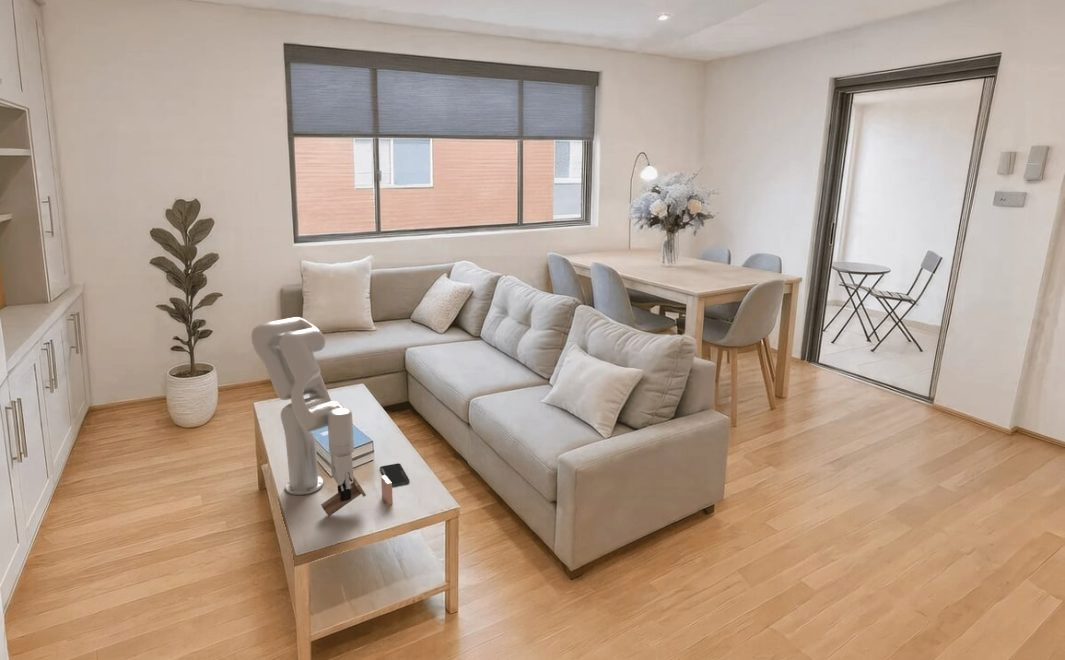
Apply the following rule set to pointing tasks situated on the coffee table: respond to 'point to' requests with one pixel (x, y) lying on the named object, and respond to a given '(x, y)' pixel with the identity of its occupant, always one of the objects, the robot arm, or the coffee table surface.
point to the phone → (395, 474)
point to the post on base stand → (335, 501)
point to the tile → (386, 490)
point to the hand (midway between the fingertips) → (344, 497)
